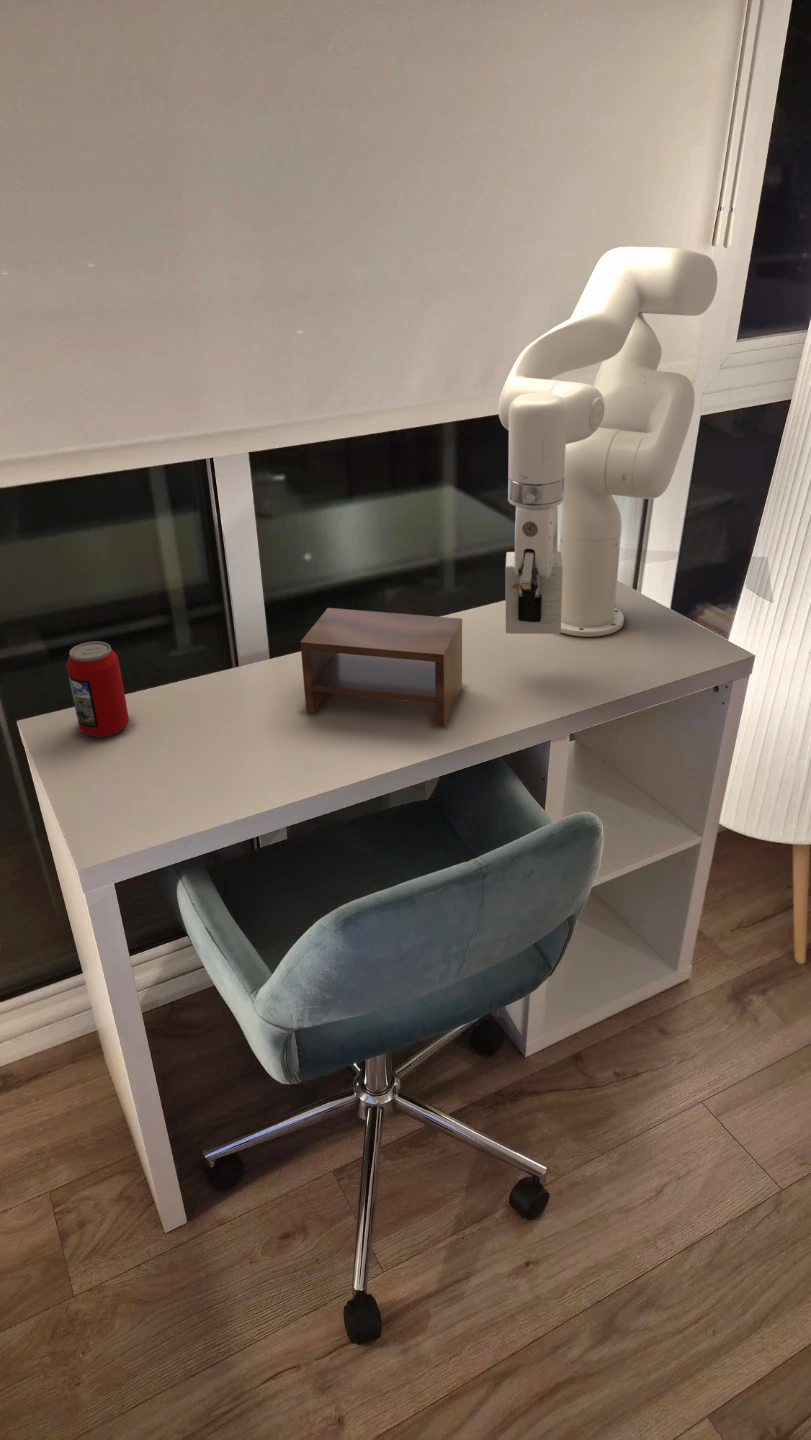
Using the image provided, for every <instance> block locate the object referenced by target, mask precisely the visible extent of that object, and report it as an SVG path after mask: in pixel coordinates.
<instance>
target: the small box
mask: <svg viewBox="0 0 811 1440" xmlns="http://www.w3.org/2000/svg"><path fill="white" fill-rule="evenodd" d="M505 555H506V556H505V569H504V570H505V634H524V635H525V634H526V635H527V634H528V635H529V634H535V635H536V634H539V635H540V634H541V635H542V634H544V635H545V634H550V635H551V634H562V633H561V610H562V575H563V567H562V557H561V552H560V551H559V550H558V552H557V553H556V557H555V560H554V563H553V566H552V573H551V575H550V576H549V577H548V578H545V577H543V576H541V583H540V595H542V605H541V621H540V622H526V621H519V620H518V595H519V588H520V576H518V575H517V574H516V573H515V551H507V552H506V554H505ZM519 570H521V569H519ZM533 574H538V570H533ZM532 583H534V584H535V586H536V579H532Z"/></svg>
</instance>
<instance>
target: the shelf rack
mask: <svg viewBox="0 0 811 1440" xmlns="http://www.w3.org/2000/svg"><path fill="white" fill-rule="evenodd" d="M300 651H301V653H300V654H301V665H302V676H303V679H302V680H303V689H304V691H303V692H304V702H305V712H306V713H308V714H315V713H316V711H318V708H319V707H320V706H321V704H322V703H323V701H324V699H325V698H326V697H327V695H328V694H336V695H344V696H345V695H346V696H353V697H354V696H355V697H356V696H357V697H363V698H364V697H365V698H374V699H375V698H376V699H386V700H395V701H404V702H405V701H406V702H413V703H415V702H416V703H425V704H434V705H435V727H440V728H445V726H446V725H447V721H448V719H449V717H450V714H451V713H452V711H453V708H454V706H455V705H456V702H457V699H458V697H459V695H460V693H461V691H462V689H463V618H458V617H447V616H446V617H445V616H435V615H434V616H433V615H422V614H410V613H399V612H398V613H397V612H386V611H385V612H384V611H372V610H359V609H346V608H334V607H327V608H326V610H324V612H323V613H322V614H321V616H320V617H319V618H318V619H317V620H316V622H315V623H314V625H313V626H312V627H310V629H309V630H308V631H307V633H306V635H304V637H303V638H302V639H301V640H300Z"/></svg>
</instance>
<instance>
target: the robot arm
mask: <svg viewBox="0 0 811 1440" xmlns="http://www.w3.org/2000/svg"><path fill="white" fill-rule="evenodd" d="M717 288H718V272H717V268H716V265H715V262H714V261H713V259H712V258H711V257H710V256H708V255H706V254H704V253H699V252H697V251H696V252H695V251H692V250H688V249H684V248H681V247H680V248H679V247H664V246H663V247H661V246H660V247H659V246H658V247H657V246H620V247H614V248H612V249H610V250H608V251H607V252H605V253H604V254H603V255H602V256H601V257H600V259H599V260H598V261H597V263H596V265H595V267H594V269H593V271H592V273H591V275H590V277H589V278H588V281H587V282H586V285H585V288H584V289H583V292H582V293H581V295H580V298H579V299H578V302H577V303H576V306H575V308H574V310H573V312H572V314H571V316H570V318H569V319H567V320H565V321H563V322H562V323H560V324H558V325H556V326H554V327H553V328H551V329H550V330H548V331H546V332H545V333H544V334H542V335H541V336H539V337H538V338H537V339H535V340H534V341H532V342H530V343H529V344H528V345H527V346H526V347H525V348H524V349H523V350H522V352H521V353H520V354H519V356H518V357H517V358H516V360H515V362H514V364H513V366H512V367H511V370H510V372H509V374H508V376H507V378H506V380H505V382H504V385H503V387H502V390H501V392H500V396H499V400H498V418H499V420H500V423H501V425H502V426H503V427H504V429H506V430H507V431H508V470H507V471H508V472H507V473H508V476H507V479H508V481H507V501H508V503H509V504H510V505H512V506H514V507H515V520H514V552H515V573H516V574H517V575H518V576H520V588H519V595H518V620H519V621H526V622H540V621H541V605H542V595H540V583H541V576H543V577H545V578H548V577H549V576H550V575H551V573H552V566H553V563H554V560H555V557H556V553H557V552H559V551H560V552H561V557H562V567H563V575H562V610H561V633H560V634H565V635H567V636H568V635H569V636H575V637H581V638H593V637H603V636H608V635H610V634H613V633H615V632H617V631H620V629H622V628H623V626H624V621H625V616H624V614H623V613H622V611H621V610H620V609H618V608H616V603H617V602H616V601H617V591H618V577H619V565H620V553H621V552H620V551H621V539H622V526H623V519H622V514H621V511H620V508H619V506H618V504H617V502H616V500H615V498H614V496H619V497H625V498H634V499H643V500H652V499H657V498H659V497H661V496H662V495H663V494H664V493H665V492H666V491H667V489H668V487H669V485H670V484H671V481H672V478H673V475H674V473H675V470H676V468H677V464H678V461H679V458H680V455H681V452H682V449H683V446H684V444H685V440H686V438H687V435H688V432H689V429H690V428H689V427H690V426H691V422H692V418H693V413H694V409H695V388H694V385H693V383H692V381H691V379H689V378H688V377H687V376H685V375H684V374H681V373H678V372H673V371H672V372H671V371H661V370H658V368H659V365H660V363H661V360H662V354H663V352H662V351H663V350H662V346H661V343H660V341H659V338H658V337H657V334H656V332H655V331H654V330H653V328H652V327H651V326H650V324H649V323H648V322H647V321H646V319H645V318H644V315H643V314H651V315H668V316H669V315H671V316H686V317H696V316H701V315H702V314H704V313H705V312H706V311H707V310H708V309H710V306H711V305H712V303H713V301H714V299H715V296H716V293H717ZM599 363H600V367H599V370H598V372H597V374H596V377H595V380H594V382H593V385H591V384H589V383H585V382H578V381H577V382H576V381H564V380H563V381H562V380H558V379H554V378H555V377H558V376H560V375H562V374H565V373H568V372H571V371H575V370H579V369H583V368H587V367H590V366H593V365H596V364H599ZM558 506H560V528H559V527H558V526H559V522H558V521H559V518H558V517H559V516H558ZM558 528H559V529H558ZM558 530H559V531H558ZM558 532H559V533H558ZM558 534H559V536H558ZM558 537H559V538H558ZM558 539H559V540H558ZM558 541H559V543H558ZM558 545H559V546H558ZM558 547H559V548H558ZM558 549H559V550H558ZM519 569H521V570H519ZM533 570H538V574H533ZM532 579H536V586H535V584H534V583H532Z"/></svg>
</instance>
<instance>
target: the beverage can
mask: <svg viewBox="0 0 811 1440" xmlns="http://www.w3.org/2000/svg"><path fill="white" fill-rule="evenodd" d="M68 654H69V655H68V659H67V661H66V665H65V666H66V670H67V675H68V680H69V681H68V682H69V686H70V689H71V690H70V691H71V695H72V699H73V700H72V701H73V703H74V709H75V714H76V718H77V723H78V728H79V730H80V731H81V733H84V734H85V735H90V736H93V737H97V738H98V737H99V738H100V737H101V738H102V737H108V736H112V735H115V734H117V733H119V732H120V731H121V730H123V729H124V728H126V726H127V725H128V723H129V720H130V719H129V711H128V705H127V701H126V694H125V689H124V683H123V677H122V673H121V667H120V661H119V657H118V655H117V654H116V652H115V650H113V649H112V647H111V645H110V644H109V643H108V642H105V641H98V640H97V641H96V640H94V641H87V642H83V643H80V644H77V645H75V646H73V647H72V648H71V649H70V650H69V653H68Z"/></svg>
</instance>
